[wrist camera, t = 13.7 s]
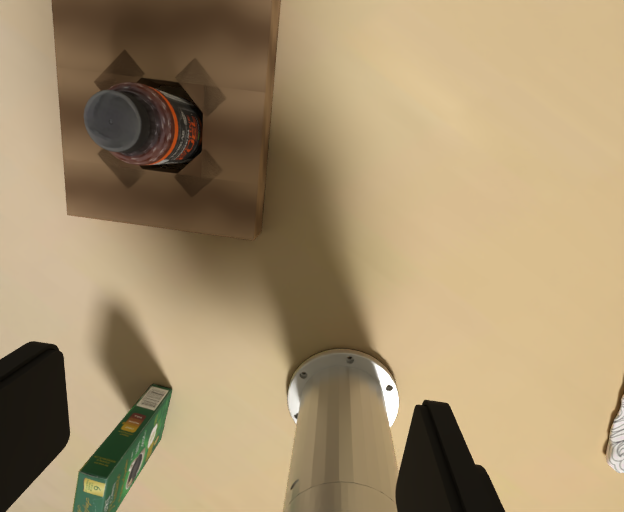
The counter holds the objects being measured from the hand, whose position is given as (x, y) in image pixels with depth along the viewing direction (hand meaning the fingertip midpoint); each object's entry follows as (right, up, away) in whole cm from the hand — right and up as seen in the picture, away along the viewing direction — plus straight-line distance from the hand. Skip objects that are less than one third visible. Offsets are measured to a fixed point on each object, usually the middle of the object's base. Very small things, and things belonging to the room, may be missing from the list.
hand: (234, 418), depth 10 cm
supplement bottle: (-11, +16, +26) cm, 32 cm away
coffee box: (-17, -15, +35) cm, 42 cm away
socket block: (-11, +18, +25) cm, 33 cm away
